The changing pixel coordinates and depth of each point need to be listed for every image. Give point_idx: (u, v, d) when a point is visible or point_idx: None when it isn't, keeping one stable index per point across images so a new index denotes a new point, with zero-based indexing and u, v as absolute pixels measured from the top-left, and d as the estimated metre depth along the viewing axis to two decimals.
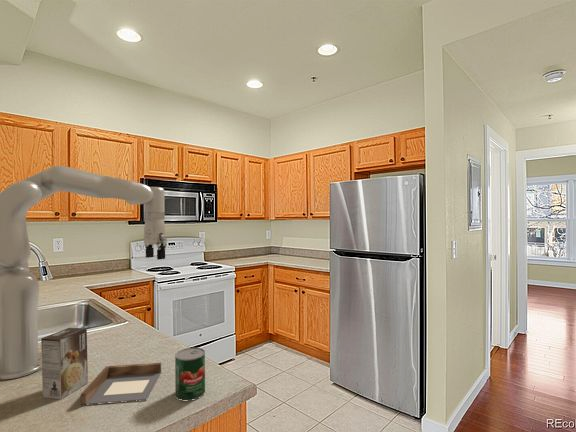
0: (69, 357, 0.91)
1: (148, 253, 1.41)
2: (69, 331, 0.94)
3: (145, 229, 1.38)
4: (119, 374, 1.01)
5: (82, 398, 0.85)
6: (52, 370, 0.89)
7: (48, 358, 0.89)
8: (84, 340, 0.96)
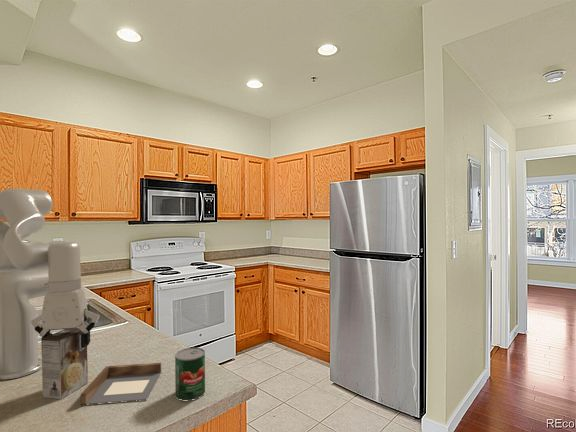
0: (69, 357, 0.91)
1: None
2: (69, 331, 0.94)
3: (49, 308, 0.90)
4: (119, 374, 1.01)
5: (82, 398, 0.85)
6: (52, 370, 0.89)
7: (48, 358, 0.89)
8: None
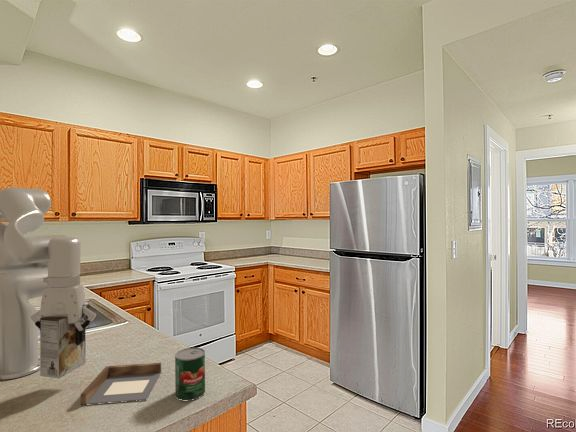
0: (68, 337, 0.91)
1: None
2: None
3: (47, 302, 0.90)
4: (119, 374, 1.01)
5: (82, 398, 0.85)
6: (50, 350, 0.89)
7: (46, 338, 0.89)
8: None
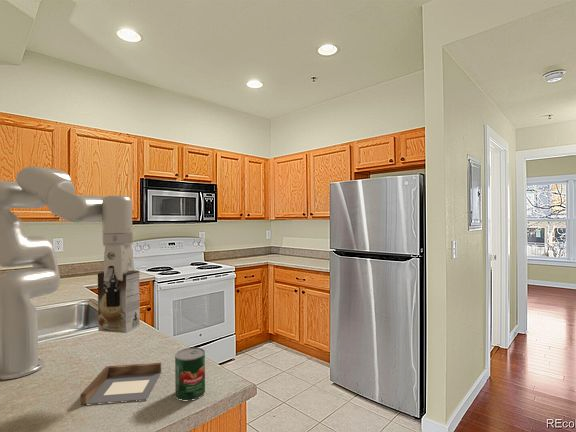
0: None
1: None
2: None
3: (124, 259, 0.91)
4: (119, 374, 1.01)
5: (82, 398, 0.85)
6: (134, 301, 0.93)
7: (131, 292, 0.92)
8: None
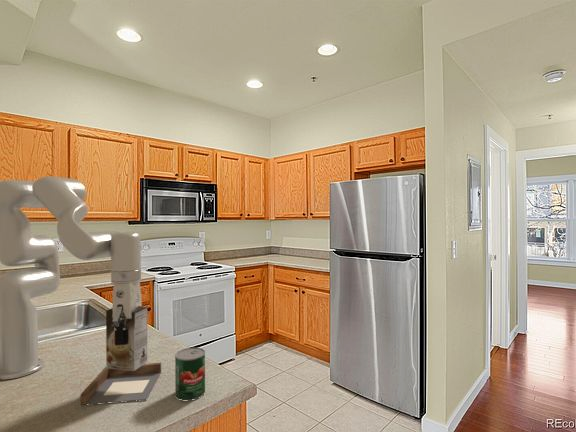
0: None
1: None
2: None
3: (133, 296, 0.91)
4: (119, 374, 1.01)
5: (82, 398, 0.85)
6: (142, 338, 0.93)
7: (139, 329, 0.92)
8: None
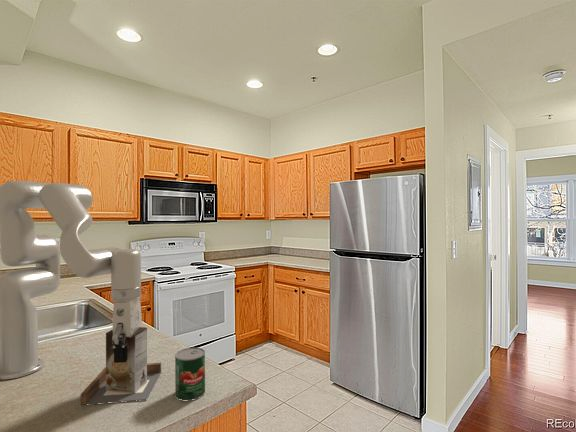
0: None
1: None
2: None
3: (133, 314, 0.91)
4: None
5: (82, 398, 0.85)
6: (142, 359, 0.94)
7: (139, 351, 0.92)
8: None
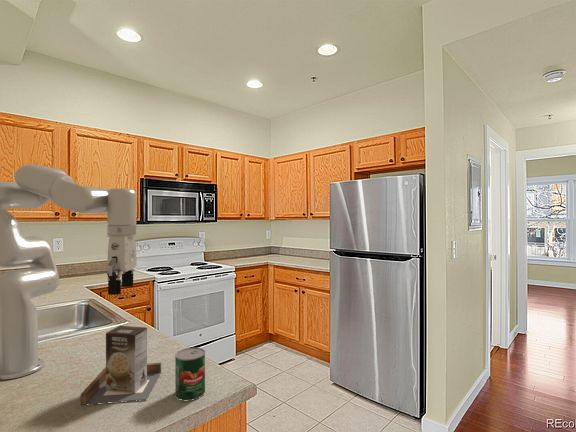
0: None
1: None
2: (123, 329, 0.94)
3: (127, 250, 0.94)
4: None
5: (82, 398, 0.85)
6: (142, 359, 0.94)
7: (139, 351, 0.92)
8: None
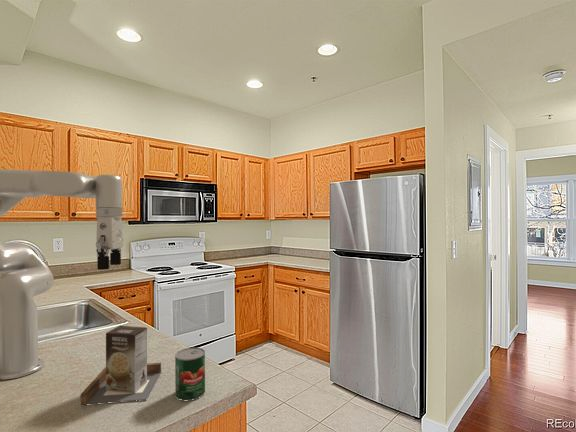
0: None
1: None
2: (123, 329, 0.94)
3: (114, 230, 1.05)
4: None
5: (82, 398, 0.85)
6: (142, 359, 0.94)
7: (139, 351, 0.92)
8: None
